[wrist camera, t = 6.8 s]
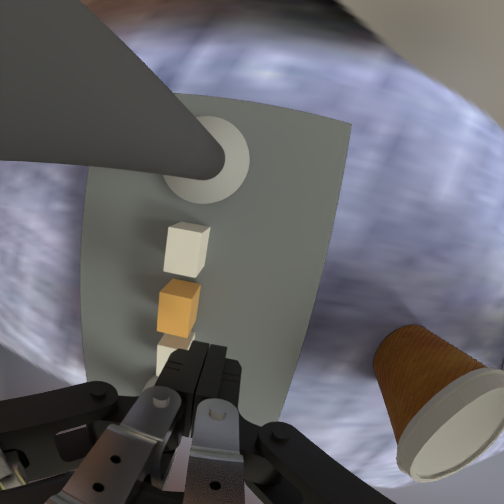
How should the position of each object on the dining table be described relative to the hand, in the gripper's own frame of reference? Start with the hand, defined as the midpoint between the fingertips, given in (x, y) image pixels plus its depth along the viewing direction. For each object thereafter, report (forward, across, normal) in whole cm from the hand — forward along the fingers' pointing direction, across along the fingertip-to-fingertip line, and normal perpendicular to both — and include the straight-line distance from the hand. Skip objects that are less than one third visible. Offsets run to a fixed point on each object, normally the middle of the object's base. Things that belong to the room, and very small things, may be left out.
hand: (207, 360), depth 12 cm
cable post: (+6, +2, -8) cm, 11 cm away
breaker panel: (+10, +2, 0) cm, 11 cm away
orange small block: (+6, +2, 0) cm, 7 cm away
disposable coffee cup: (+11, -16, +4) cm, 20 cm away
